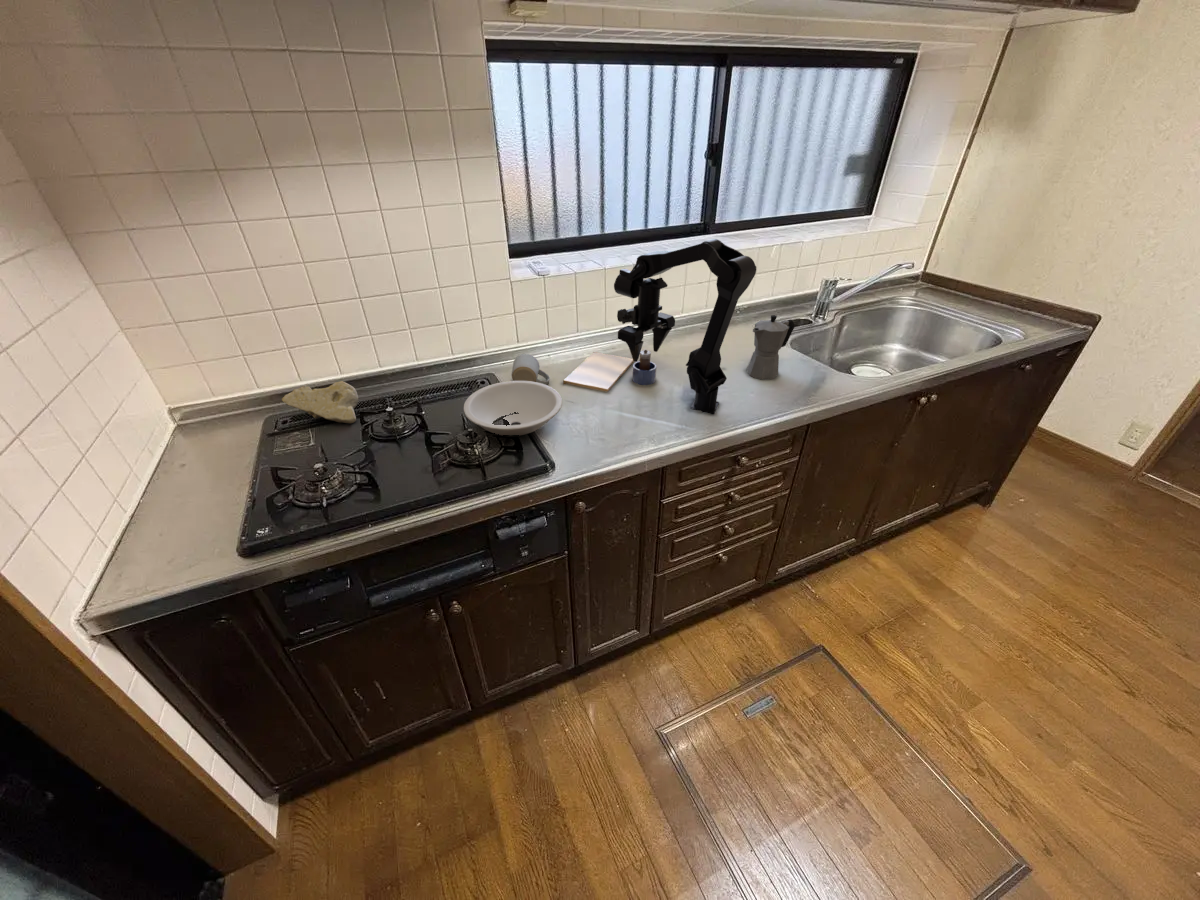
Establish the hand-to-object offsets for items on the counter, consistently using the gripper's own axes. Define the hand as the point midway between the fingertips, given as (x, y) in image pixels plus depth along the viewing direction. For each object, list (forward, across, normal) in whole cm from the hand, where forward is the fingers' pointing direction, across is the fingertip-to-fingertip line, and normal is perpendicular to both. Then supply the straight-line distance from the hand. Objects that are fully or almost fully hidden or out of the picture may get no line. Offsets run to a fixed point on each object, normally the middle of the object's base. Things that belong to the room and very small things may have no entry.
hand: (645, 356), depth 142 cm
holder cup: (+8, 0, 0) cm, 8 cm away
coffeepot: (+8, -30, +23) cm, 39 cm away
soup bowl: (+8, +41, -8) cm, 43 cm away
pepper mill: (+7, 0, 0) cm, 7 cm away
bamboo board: (+8, +5, -13) cm, 16 cm away
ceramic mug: (+8, +23, -24) cm, 34 cm away
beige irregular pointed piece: (+8, +73, -46) cm, 87 cm away
